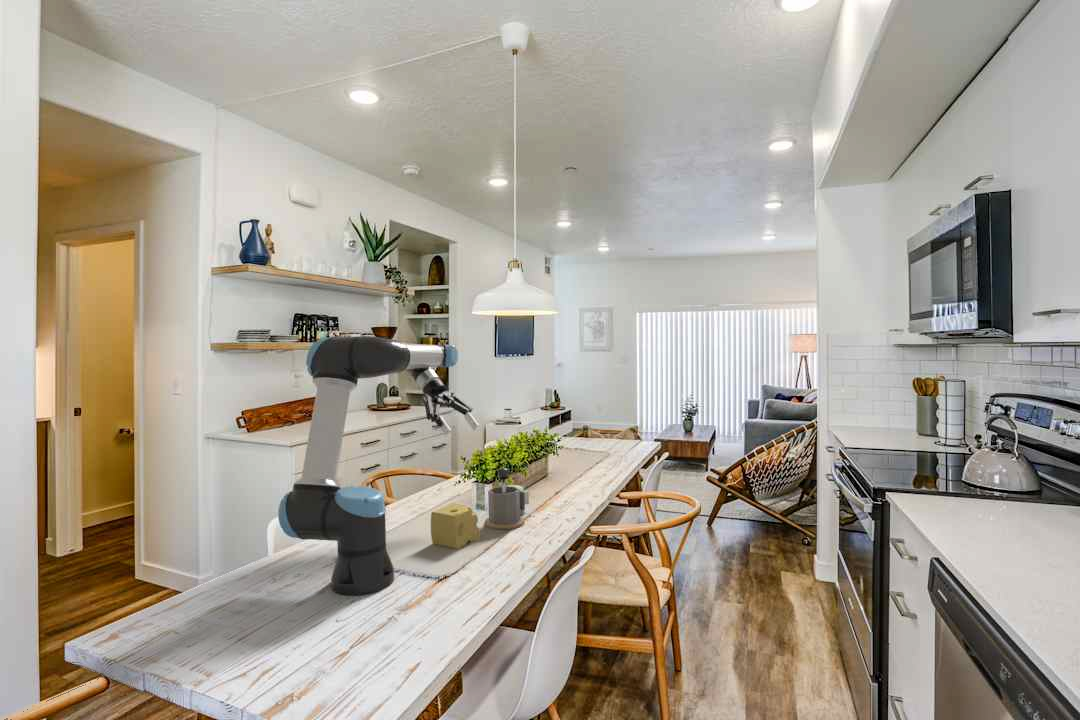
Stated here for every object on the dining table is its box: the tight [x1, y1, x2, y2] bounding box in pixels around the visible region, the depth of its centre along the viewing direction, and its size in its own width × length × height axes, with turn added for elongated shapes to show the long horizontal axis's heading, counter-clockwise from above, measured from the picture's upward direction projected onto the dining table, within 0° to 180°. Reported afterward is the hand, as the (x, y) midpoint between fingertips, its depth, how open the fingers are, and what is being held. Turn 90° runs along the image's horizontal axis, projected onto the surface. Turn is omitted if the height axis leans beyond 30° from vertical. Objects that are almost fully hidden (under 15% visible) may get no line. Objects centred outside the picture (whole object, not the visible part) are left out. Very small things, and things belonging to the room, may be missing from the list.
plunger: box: [497, 467, 510, 494], centre depth 184 cm, size 6×6×16 cm
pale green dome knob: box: [508, 484, 530, 516], centre depth 195 cm, size 8×10×9 cm
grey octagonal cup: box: [484, 485, 526, 531], centre depth 185 cm, size 13×13×11 cm
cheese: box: [430, 502, 480, 550], centre depth 169 cm, size 10×11×10 cm
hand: (462, 430), depth 191 cm, fingers open, 13 cm apart
